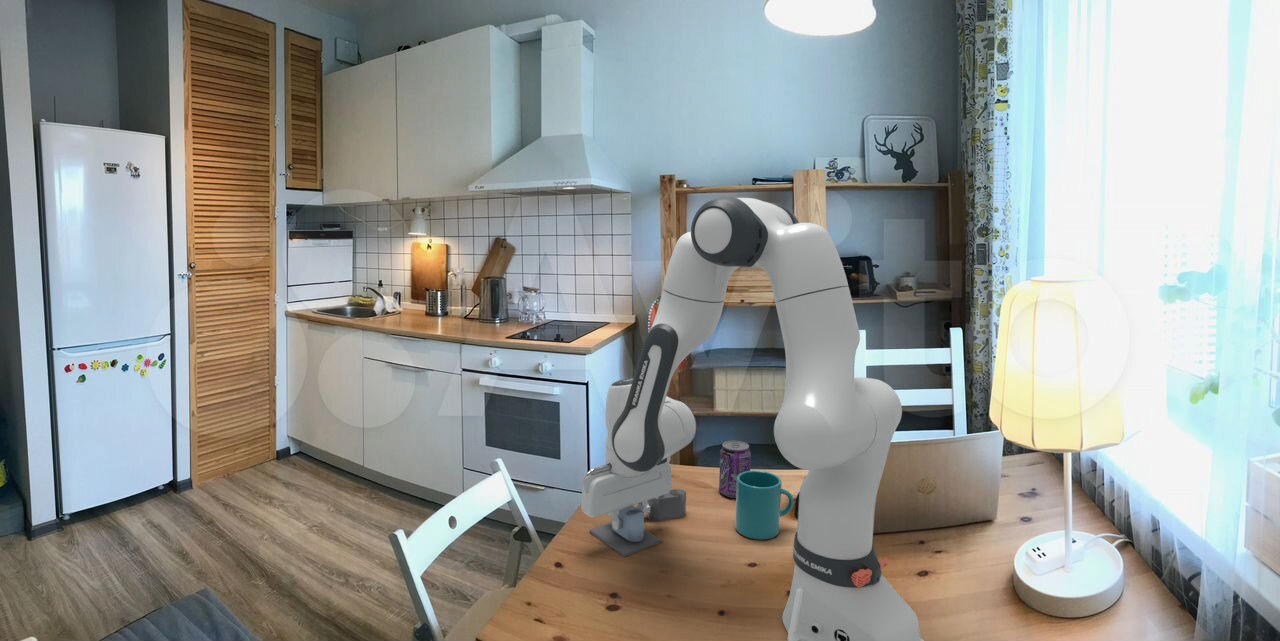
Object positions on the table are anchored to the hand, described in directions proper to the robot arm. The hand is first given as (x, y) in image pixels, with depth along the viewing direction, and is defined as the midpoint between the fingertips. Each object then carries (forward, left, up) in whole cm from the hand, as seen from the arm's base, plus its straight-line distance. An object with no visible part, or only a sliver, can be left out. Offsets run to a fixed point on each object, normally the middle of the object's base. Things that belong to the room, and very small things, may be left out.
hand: (627, 524), depth 123 cm
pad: (+1, 0, -3) cm, 3 cm away
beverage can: (+2, -33, -3) cm, 33 cm away
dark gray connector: (+3, -12, -3) cm, 13 cm away
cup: (-14, -25, -3) cm, 29 cm away
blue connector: (+1, 0, -2) cm, 2 cm away
